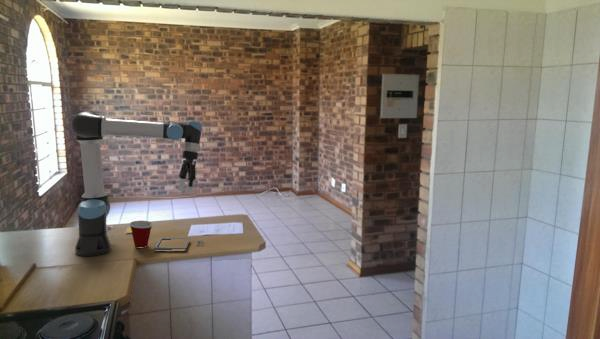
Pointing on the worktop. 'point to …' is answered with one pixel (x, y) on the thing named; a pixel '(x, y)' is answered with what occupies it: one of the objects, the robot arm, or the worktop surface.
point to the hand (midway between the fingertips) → (184, 192)
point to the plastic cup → (141, 232)
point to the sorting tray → (170, 247)
